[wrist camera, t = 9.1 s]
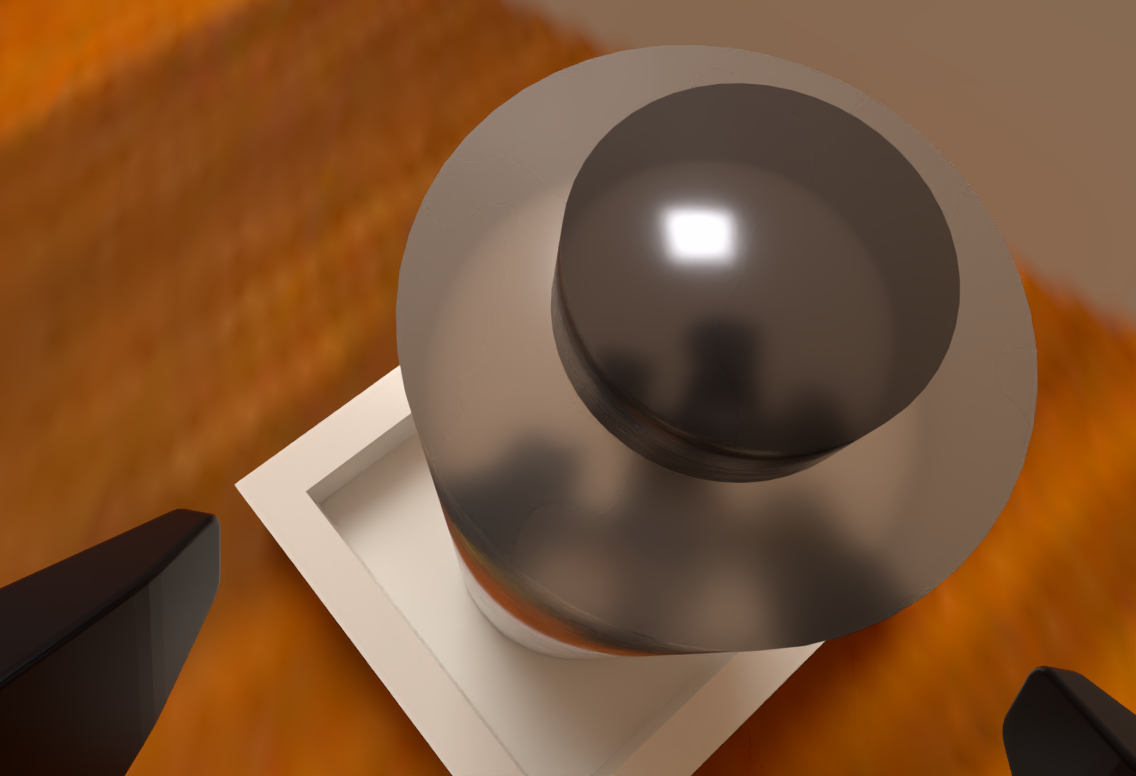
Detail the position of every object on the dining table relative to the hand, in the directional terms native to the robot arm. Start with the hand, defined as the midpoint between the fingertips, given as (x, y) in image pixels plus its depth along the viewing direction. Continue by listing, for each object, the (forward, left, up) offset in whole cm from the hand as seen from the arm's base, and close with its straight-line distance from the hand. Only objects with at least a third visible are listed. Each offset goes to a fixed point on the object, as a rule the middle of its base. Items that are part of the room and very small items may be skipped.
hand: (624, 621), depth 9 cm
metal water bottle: (+2, +2, -9) cm, 10 cm away
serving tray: (+2, +2, -10) cm, 10 cm away
